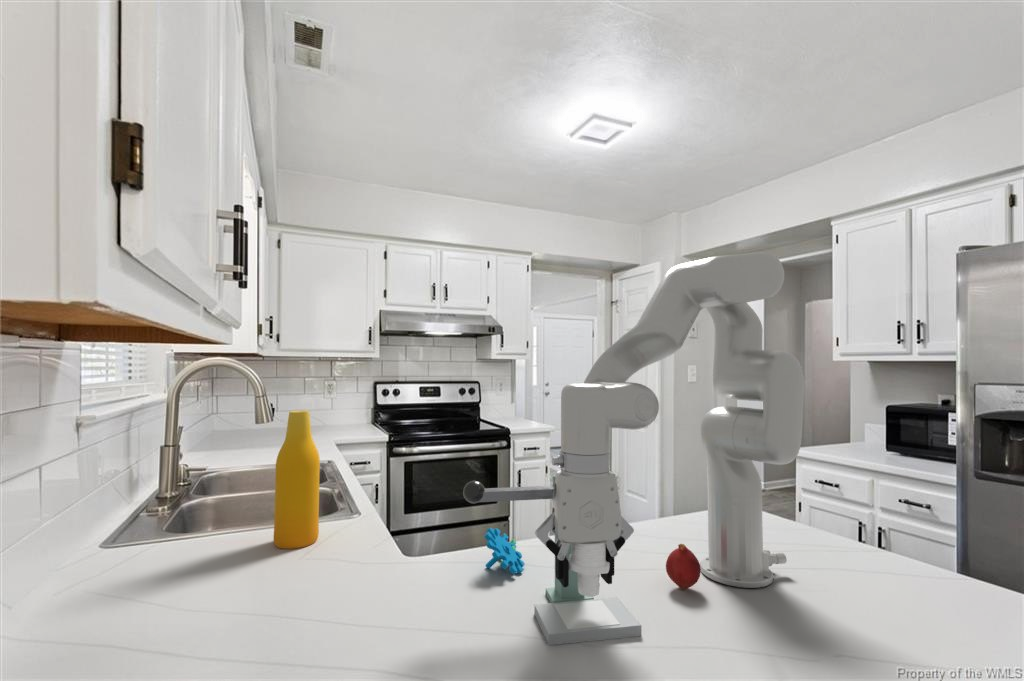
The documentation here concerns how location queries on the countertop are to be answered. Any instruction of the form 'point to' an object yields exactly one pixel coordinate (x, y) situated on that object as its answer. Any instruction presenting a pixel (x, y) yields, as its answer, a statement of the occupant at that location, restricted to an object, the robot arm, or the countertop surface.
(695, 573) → the onion
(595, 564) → the pipe fitting
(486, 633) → the countertop surface
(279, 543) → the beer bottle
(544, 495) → the lever
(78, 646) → the countertop surface
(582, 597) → the press
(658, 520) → the countertop surface
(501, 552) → the gear
